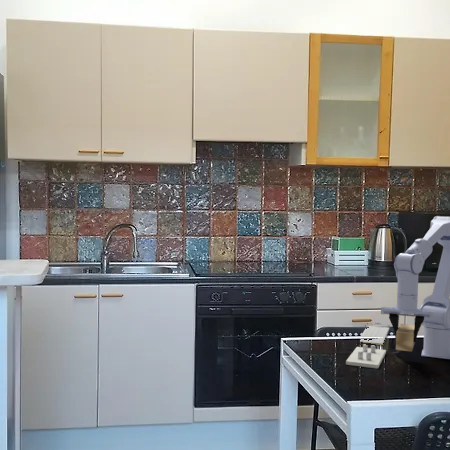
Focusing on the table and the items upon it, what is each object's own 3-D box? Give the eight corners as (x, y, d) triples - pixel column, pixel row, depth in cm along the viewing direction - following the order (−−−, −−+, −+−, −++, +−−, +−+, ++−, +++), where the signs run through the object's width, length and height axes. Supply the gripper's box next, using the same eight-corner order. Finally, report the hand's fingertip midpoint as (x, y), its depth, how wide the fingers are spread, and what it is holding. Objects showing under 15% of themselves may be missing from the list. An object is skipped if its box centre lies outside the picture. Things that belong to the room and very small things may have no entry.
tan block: (415, 341, 172) (415, 325, 172) (412, 351, 159) (412, 333, 159) (399, 340, 173) (400, 323, 173) (395, 349, 160) (396, 332, 160)
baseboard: (351, 344, 191) (382, 348, 188) (352, 336, 191) (382, 339, 188) (362, 328, 220) (389, 331, 216) (362, 321, 220) (389, 323, 216)
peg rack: (385, 353, 178) (386, 343, 178) (378, 368, 159) (378, 357, 159) (356, 349, 181) (357, 340, 181) (345, 364, 163) (346, 354, 163)
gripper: (380, 294, 165) (378, 340, 165) (433, 298, 159) (431, 346, 160) (383, 291, 171) (381, 335, 172) (434, 295, 166) (432, 341, 166)
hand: (405, 340), depth 166 cm, fingers closed on tan block, 4 cm apart
